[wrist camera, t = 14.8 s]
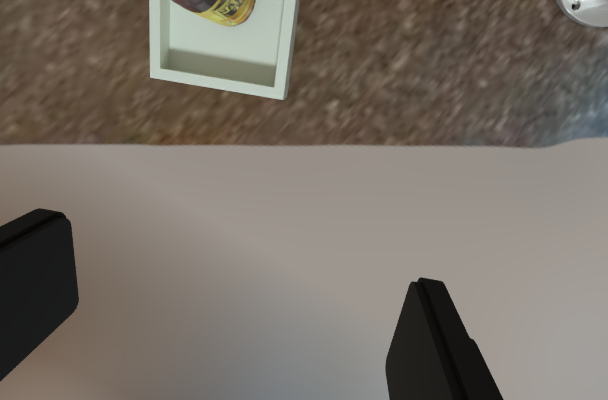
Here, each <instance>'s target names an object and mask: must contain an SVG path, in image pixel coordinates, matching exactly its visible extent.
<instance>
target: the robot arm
mask: <svg viewBox="0 0 608 400" xmlns="http://www.w3.org/2000/svg"><path fill="white" fill-rule="evenodd" d="M556 2H557V4H558V5H559V7H560V8H561V10H562V11H563V12H564V13H565V14H566V15H567V16H568V17H569V18H570V19H572V20H574V21H575V22H577V23H579V24H582V25H586V26H590V27H608V0H556ZM572 5H573V8H571V6H572ZM78 302H79V297H78V287H77V277H76V267H75V258H74V248H73V238H72V228H71V223H70V221H69V220H68V219H66V216H65V215H64V214H63V213H62V212H57V211H52V210H46V209H36V210H33V211H31V212H29V213H27V214H25V215H23V216H21V217H19V218H17V219H15V220H13V221H11V222H9V223H7V224H5V225H3V226H1V227H0V381H1V380H2V379H3V378H4V377H5V376H7V375H8V374H9V373H10V372H11V371H12V370H13V369H14V368H15V367H16V366H17V365H18V364H19V363H20V362H21V361H23V360H24V359H25V358H26V357H27V356H28V355H29V354H30V353H31V352H32V351H33V350H34V349H35V348H36V347H37V346H38V345H39V344H40V343H42V342H43V341H44V340H45V339H46V337H48V336H49V335H50V334H51V333H52V332H53V331H54V330H55V329H56V328H57V327H58V326H59V325H60V324H62V323H63V322H64V321H65V320H66V319H67V318H68V317H69V316H70V315H71V314H72V313H73V312H74V311H75V309H76V308H77V305H78ZM386 377H387V384H388V391H389V398H390V400H503V398H502V396H501V394H500V392H499V389H498V387H497V385H496V383H495V381H494V379H493V377H492V375H491V373H490V371H489V369H488V367H487V365H486V363H485V361H484V358H483V357H482V354H481V352H480V350H479V348H478V346H477V344H476V343H475V341H474V340H473V339H471V338H469V336H468V333H467V332H466V329H465V327H464V325H463V323H462V321H461V319H460V316H459V314H458V312H457V310H456V308H455V306H454V303H453V301H452V299H451V297H450V295H449V293H448V291H447V289H446V286H445V284H444V283H443V282H442V281H437V280H432V279H427V278H419V279H418V281H417V282H411V283H410V285H409V288H408V292H407V295H406V298H405V301H404V304H403V307H402V311H401V314H400V317H399V320H398V323H397V327H396V330H395V333H394V336H393V339H392V342H391V346H390V349H389V352H388V355H387V359H386Z"/></svg>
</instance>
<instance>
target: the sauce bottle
mask: <svg viewBox="0 0 608 400" xmlns="http://www.w3.org/2000/svg"><path fill="white" fill-rule="evenodd" d="M172 1H173V2H174V3H176V4H178V5H180V6H181V7H182V8H184V9H186V10H188V11H190V12H193V13H195V14H197V15H199V16H201V17H203V18H206V19H208V20H210V21H213V22H215V23H217V24H220V25H223V26H228V27H229V26H236V25H240V24H242V23H243V22H245V21H246V20H247V19H248V18H249V17H250V15H251V13H252V11H253V9H254V5H255V2H256V0H172Z"/></svg>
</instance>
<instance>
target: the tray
mask: <svg viewBox="0 0 608 400" xmlns="http://www.w3.org/2000/svg"><path fill="white" fill-rule="evenodd" d="M149 2H150V78H156V79H162V80H168V81H174V82H180V83H186V84H192V85H198V86H204V87H210V88H216V89H221V90H227V91H233V92H239V93H245V94H251V95H257V96H263V97H269V98H275V99H281V100H284V99H285V98H287V95H288V87H289V79H290V72H291V64H292V56H293V49H294V41H295V33H296V26H297V18H298V10H299V2H300V0H256V2H255V5H254V9H253V11H252V13H251V15H250V17H249V18H248V19H247V20H246V21H245V22H243V23H242V24H240V25H236V26H229V27H228V26H223V25H220V24H217V23H215V22H213V21H210V20H208V19H206V18H203V17H201V16H199V15H197V14H195V13H193V12H190V11H188V10H186V9H184V8H182V7H181V6H180V5H178V4H176V3H174V2H173V1H172V0H149Z"/></svg>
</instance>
